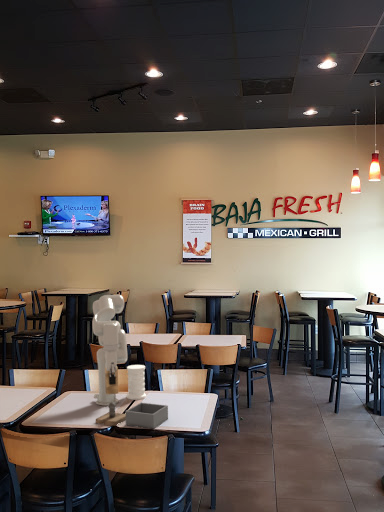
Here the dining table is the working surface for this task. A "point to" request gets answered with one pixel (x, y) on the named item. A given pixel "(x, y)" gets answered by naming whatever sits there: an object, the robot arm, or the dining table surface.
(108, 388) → the oak strut
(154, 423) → the charcoal bin
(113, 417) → the stud block
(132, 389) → the decorative container
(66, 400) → the dining table surface
